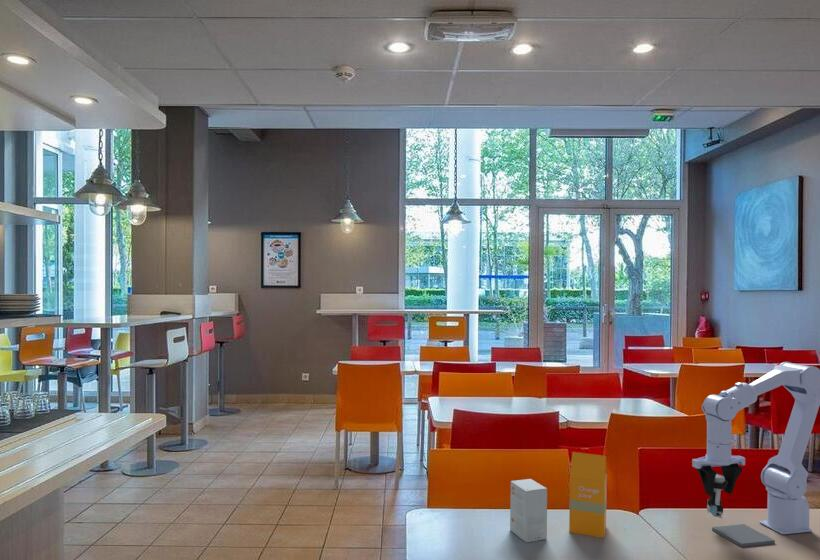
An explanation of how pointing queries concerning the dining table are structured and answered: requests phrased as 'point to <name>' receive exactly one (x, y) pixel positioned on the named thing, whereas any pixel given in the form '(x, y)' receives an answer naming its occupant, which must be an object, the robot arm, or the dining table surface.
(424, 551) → the dining table surface
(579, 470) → the orange juice
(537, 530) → the small box
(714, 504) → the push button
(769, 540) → the rubber pad
